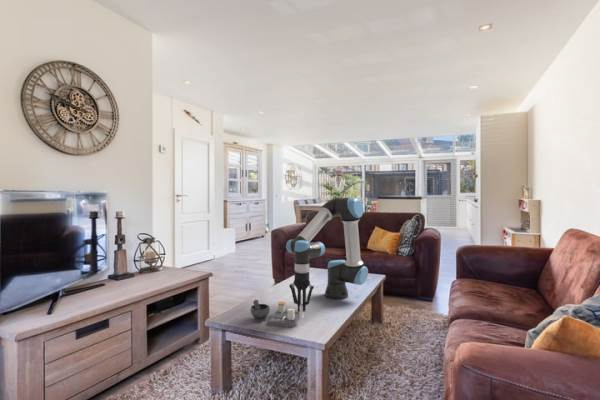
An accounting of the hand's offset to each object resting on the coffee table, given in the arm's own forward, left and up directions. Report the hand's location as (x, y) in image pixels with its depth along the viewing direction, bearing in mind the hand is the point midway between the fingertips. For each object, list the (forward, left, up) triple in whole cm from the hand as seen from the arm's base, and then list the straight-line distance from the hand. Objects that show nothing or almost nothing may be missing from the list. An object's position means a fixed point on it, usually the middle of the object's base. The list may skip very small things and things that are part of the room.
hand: (301, 317), depth 162 cm
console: (+9, -4, -4) cm, 11 cm away
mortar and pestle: (+22, 0, -4) cm, 23 cm away
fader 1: (+13, -9, -1) cm, 16 cm away
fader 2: (+6, 0, -1) cm, 6 cm away
